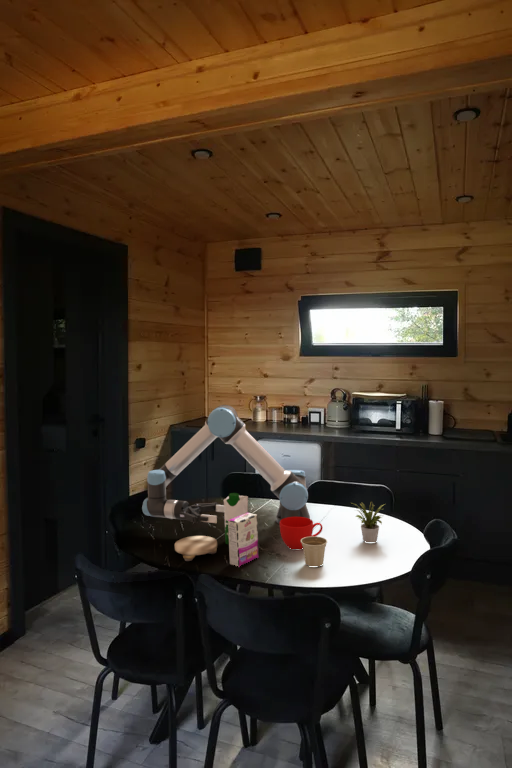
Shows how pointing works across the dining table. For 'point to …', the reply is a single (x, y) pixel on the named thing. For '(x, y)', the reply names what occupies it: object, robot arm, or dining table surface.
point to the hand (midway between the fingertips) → (223, 514)
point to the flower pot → (314, 550)
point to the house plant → (369, 523)
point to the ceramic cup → (297, 530)
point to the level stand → (195, 546)
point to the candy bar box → (243, 539)
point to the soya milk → (234, 509)
